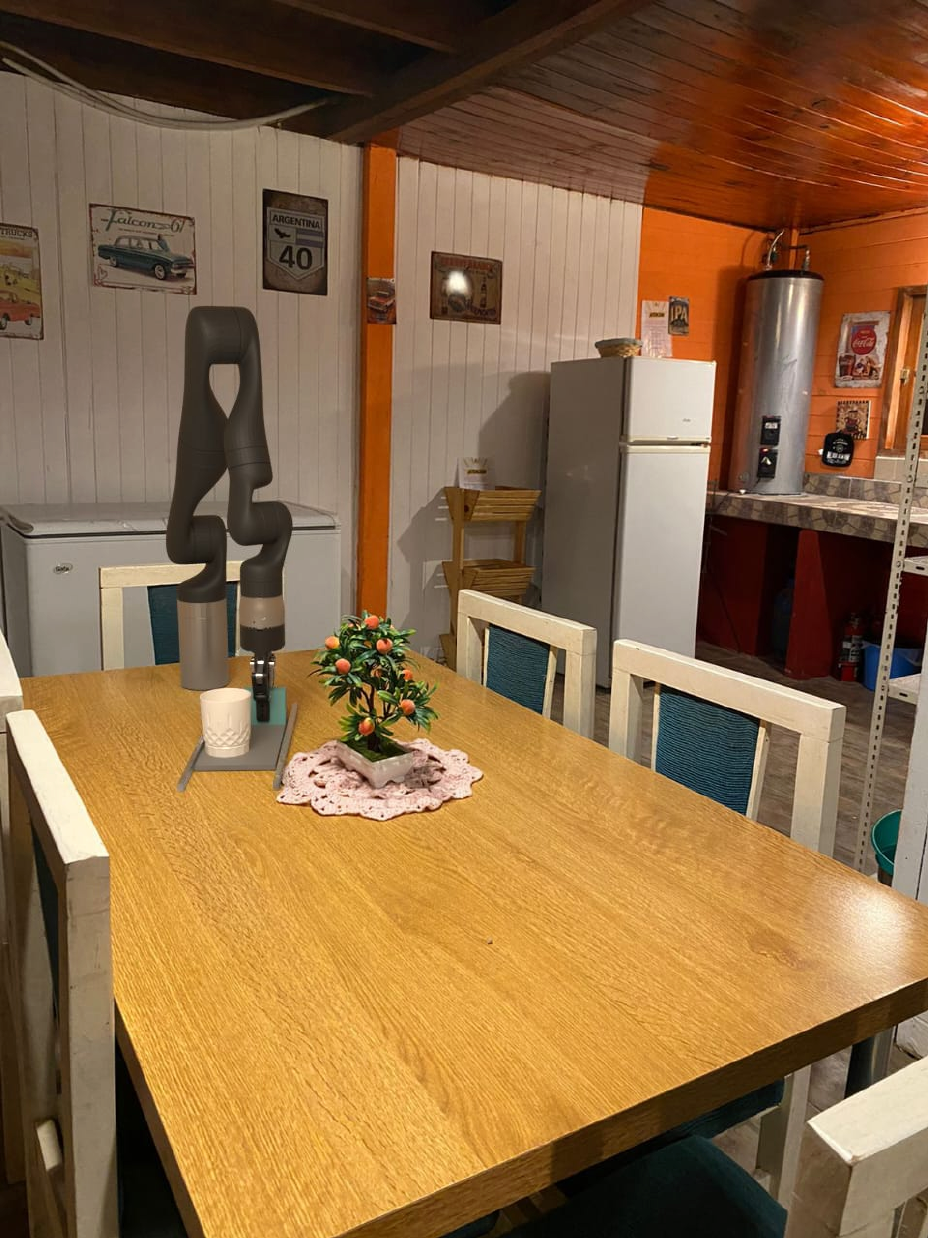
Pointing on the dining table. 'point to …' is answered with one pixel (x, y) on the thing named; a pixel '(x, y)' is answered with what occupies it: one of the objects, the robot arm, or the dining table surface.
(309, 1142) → the dining table surface
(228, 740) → the white cup
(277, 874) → the dining table surface
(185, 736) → the dining table surface
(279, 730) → the grey tray
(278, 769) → the rails
